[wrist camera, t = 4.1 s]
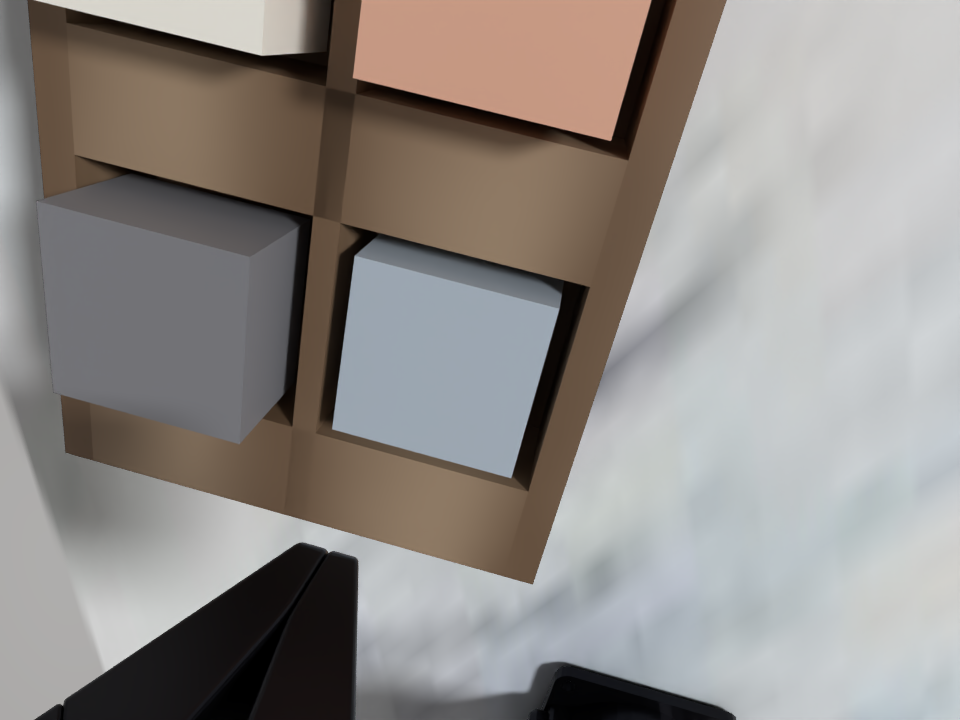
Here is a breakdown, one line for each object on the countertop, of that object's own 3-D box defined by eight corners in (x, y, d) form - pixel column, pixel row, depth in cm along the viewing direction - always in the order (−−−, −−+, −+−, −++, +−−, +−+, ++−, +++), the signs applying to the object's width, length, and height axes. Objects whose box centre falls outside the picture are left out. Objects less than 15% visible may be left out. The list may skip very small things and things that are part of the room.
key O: (310, 218, 16) (249, 257, 13) (294, 382, 18) (239, 444, 15) (130, 173, 16) (36, 200, 13) (135, 339, 18) (53, 392, 15)
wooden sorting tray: (796, -304, 13) (870, -435, 9) (544, 492, 21) (532, 584, 18) (142, -438, 13) (-24, -608, 10) (152, 385, 22) (65, 453, 18)
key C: (566, 265, 17) (559, 308, 14) (524, 414, 19) (511, 478, 16) (394, 220, 17) (354, 255, 14) (370, 373, 19) (332, 429, 16)
